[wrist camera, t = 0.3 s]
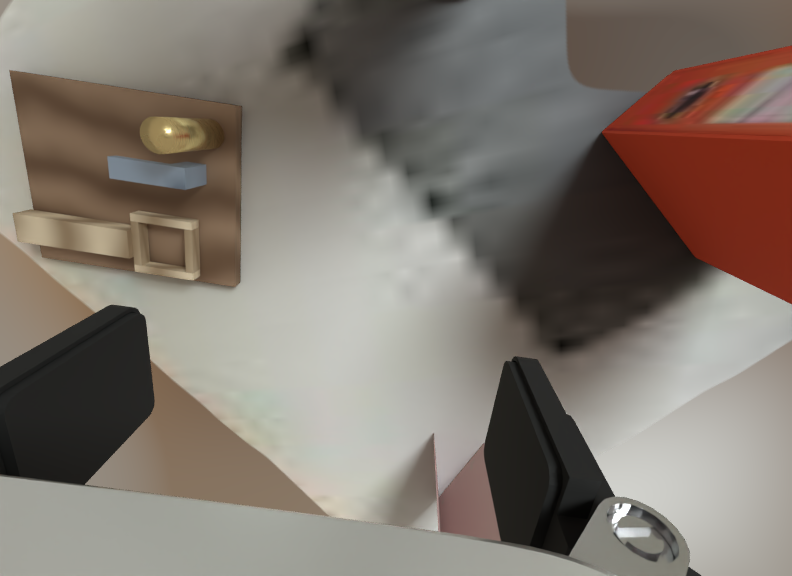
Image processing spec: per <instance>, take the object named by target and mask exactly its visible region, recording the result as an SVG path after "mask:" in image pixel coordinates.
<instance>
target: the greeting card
mask: <svg viewBox="0 0 792 576" xmlns="http://www.w3.org/2000/svg"><path fill="white" fill-rule="evenodd" d="M434 453H435V442H434ZM435 473H436V493H437V514H438V532H446V533H453V534H460V535H468V536H473V537H479V538H485V539H491V540H496V541H501V539H500V535H499V530H498V525H497V520H496V515H495V510H494V505H493V500H492V495H491V490H490V485H489V480H488V475H487V470H486V465H485V461H484V444H483V445H482V446H481V447H480V449H479V450H478V451H477V452H476V453H475V455H474V456H473V457H472V458H471V459H470V461H469V462H468V463H467V464H466V465H465V467H464V468H463V469H462V470H461V471H460V473H459V474H458V475H457V476H456V477H455V479H454V480H453V481H452V482H451V483H450V485H449V486H448V487H447V488H446V489H445V491H444V492H443V493H442V494H441V495H440V497H439V494H438V481H437V468H436V455H435Z"/></svg>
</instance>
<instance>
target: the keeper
mask: <svg viewBox="0 0 792 576" xmlns="http://www.w3.org/2000/svg"><path fill="white" fill-rule="evenodd" d="M107 159H108V168H109V178H111V179H117V180H124V181H130V182H136V183H143V184H149V185H156V186H162V187H169V188H175V189H182V190H187V189H191V188H195V187H199V186H203V185H206V184H207V178H206V164H200V163H193V162H180V163H173V164H168V163H161V162H155V161H148V160H142V159H135V158H129V157H122V156H107Z"/></svg>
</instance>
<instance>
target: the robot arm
mask: <svg viewBox="0 0 792 576" xmlns="http://www.w3.org/2000/svg"><path fill="white" fill-rule="evenodd" d="M153 408H154V392H153V383H152V374H151V364H150V354H149V345H148V336H147V327H146V319H145V317H144V315H142V314H140V312H139V310H138V309H136V308H133V307H125V306H118V305H110V306H107V307H105V308H104V309H102V310H100V311H98V312H97V313H95V314H93V315H91V316H90V317H88V318H86V319H84V320H82V321H81V322H79V323H77V324H75V325H73V326H72V327H70V328H68V329H66V330H65V331H63V332H62V333H59V334H58V335H56V336H54V337H52V338H50V339H49V340H47V341H45V342H43V343H42V344H40V345H38V346H36V347H35V348H33V349H31V350H30V351H28V352H26V353H24V354H22V355H20V356H19V357H17V358H15V359H13V360H12V361H10V362H8V363H6V364H4V365H3V366H1V367H0V576H701V575H700V574H698V573H697V572H695V571H694V570H692V569H691V568H690V567H688V566H689V562H690V551H689V548H688V546H687V543H686V541H685V539H684V538H683V536H682V535H681V534H680V532H679V531H678V529H677V528H676V527H675V526H674V525H673V524H672V523H671V522H670V521H669V520H668V519H667V518H665V517H664V516H663V515H661V514H660V513H659V512H657V511H656V510H654V509H653V508H651V507H649V506H647V505H645V504H643V503H641V502H639V501H636V500H633V499H629V498H625V497H615V495H614V494H613V492H612V490H611V488H610V486H609V484H608V483H607V481H606V479H605V477H604V475H603V473H602V472H601V470H600V468H599V466H598V464H597V462H596V460H595V458H594V457H593V455H592V453H591V451H590V449H589V447H588V445H587V444H586V442H585V440H584V438H583V436H582V434H581V433H580V431H579V429H578V427H577V425H576V423H575V421H574V420H573V418H572V417H571V416H570V415H567V414H566V412H565V410H564V409H563V407H562V405H561V403H560V401H559V399H558V397H557V395H556V393H555V391H554V390H553V388H552V386H551V384H550V382H549V380H548V378H547V376H546V374H545V372H544V371H543V369H542V367H541V365H540V363H539V361H538V360H537V359H531V358H523V357H514V358H513V359H512V361H511V362H510V361H506V362H505V363H504V366H503V370H502V374H501V378H500V383H499V387H498V391H497V395H496V399H495V403H494V407H493V411H492V415H491V420H490V424H489V428H488V432H487V436H486V440H485V445H484V461H485V465H486V470H487V475H488V480H489V485H490V490H491V495H492V500H493V505H494V510H495V515H496V520H497V525H498V530H499V535H500V539H501V541H496V540H491V539H485V538H479V537H473V536H468V535H460V534H453V533H446V532H438V531H431V530H424V529H416V528H409V527H402V526H394V525H387V524H380V523H372V522H365V521H358V520H350V519H343V518H336V517H328V516H321V515H313V514H306V513H299V512H292V511H284V510H276V509H269V508H261V507H253V506H246V505H238V504H230V503H222V502H215V501H207V500H200V499H191V498H184V497H177V496H169V495H161V494H153V493H145V492H138V491H130V490H122V489H113V488H106V487H98V486H89V485H85V483H86V482H87V481H88V480H89V479H90V478H91V477H92V476H93V475H94V474H95V473H96V472H97V471H98V470H99V469H100V468H101V466H102V465H103V464H104V463H105V462H106V461H107V460H108V459H109V458H110V457H111V456H112V455H113V454H114V453H115V451H117V449H118V448H119V447H120V446H121V445H122V444H123V443H124V442H125V441H126V440H127V439H128V438H129V437H130V436H131V435H132V434H133V433H134V431H135V430H136V429H137V428H138V427H139V426H140V425H141V424H142V423H143V422H144V421H145V420H146V419H147V418H148V416H149V415H150V414H151V412H152V410H153Z"/></svg>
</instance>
